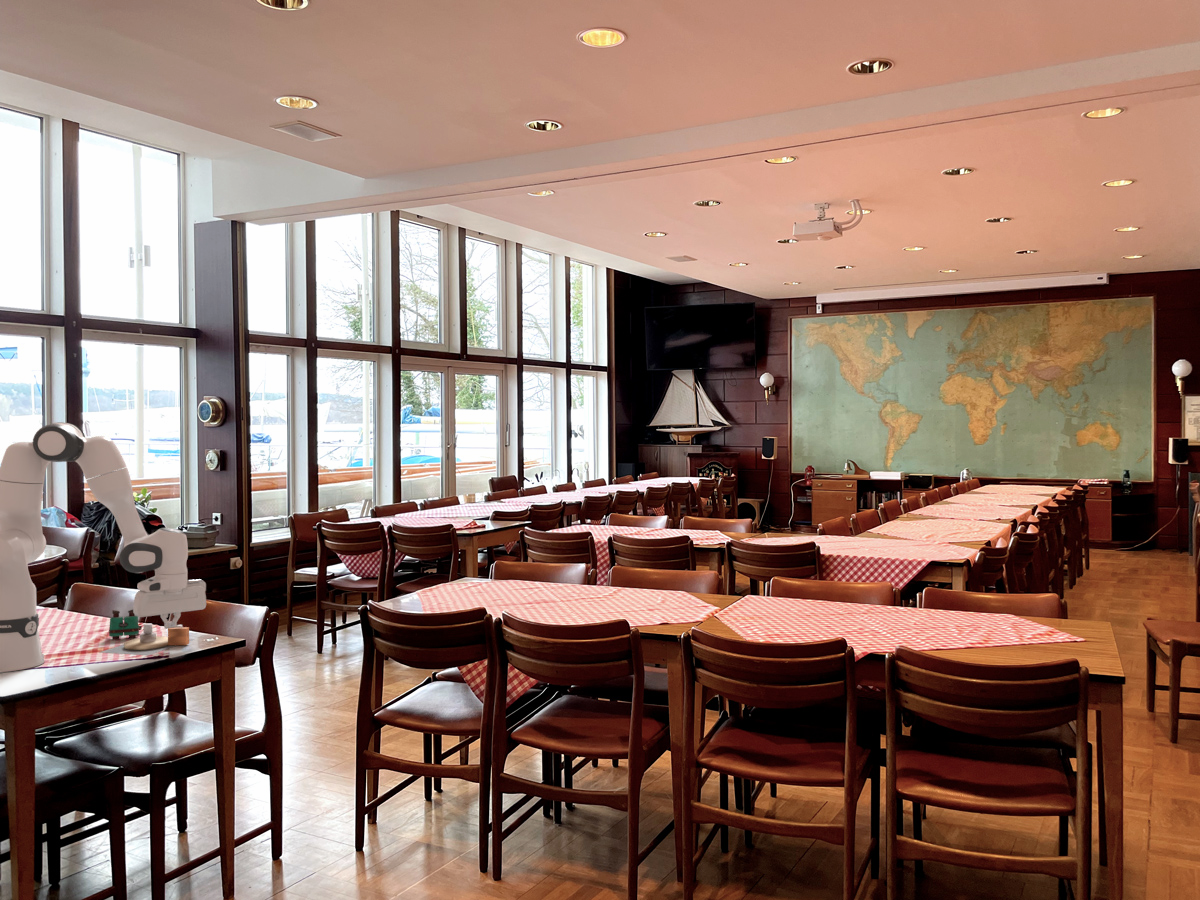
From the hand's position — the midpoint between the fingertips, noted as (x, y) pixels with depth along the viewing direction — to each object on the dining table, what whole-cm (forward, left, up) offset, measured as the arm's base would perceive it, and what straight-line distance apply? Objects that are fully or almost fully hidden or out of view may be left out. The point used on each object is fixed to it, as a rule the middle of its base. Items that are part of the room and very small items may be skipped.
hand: (170, 627), depth 267 cm
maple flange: (-6, +1, -6) cm, 8 cm away
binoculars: (-24, +10, -8) cm, 27 cm away
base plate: (-8, +1, -7) cm, 11 cm away
